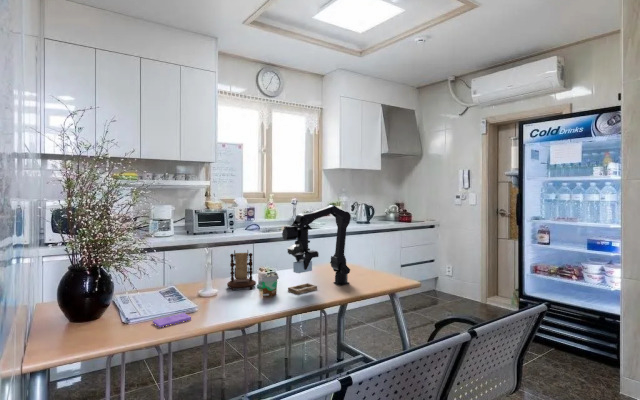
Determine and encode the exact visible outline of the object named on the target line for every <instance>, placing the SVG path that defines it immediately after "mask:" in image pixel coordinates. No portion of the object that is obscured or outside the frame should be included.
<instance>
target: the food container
mask: <svg viewBox="0 0 640 400" xmlns="http://www.w3.org/2000/svg"><path fill="white" fill-rule="evenodd" d="M278 280H279V274H278V272H275V271H269V273H268V274H267V275H265V276H262V277H261V286H262V298H270V297H275V296H277V291H278V290H277V288H278Z"/></svg>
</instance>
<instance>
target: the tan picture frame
mask: <svg viewBox="0 0 640 400" xmlns="http://www.w3.org/2000/svg"><path fill="white" fill-rule="evenodd" d="M317 290H318V285H315V284H313V283H312V284H311V283H309V282H308V283H301V284H298V285H294V286H289V287H287V291H288V292H290V293H292V294H295V295H301V294H304V293H308V292H312V291H317Z"/></svg>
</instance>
